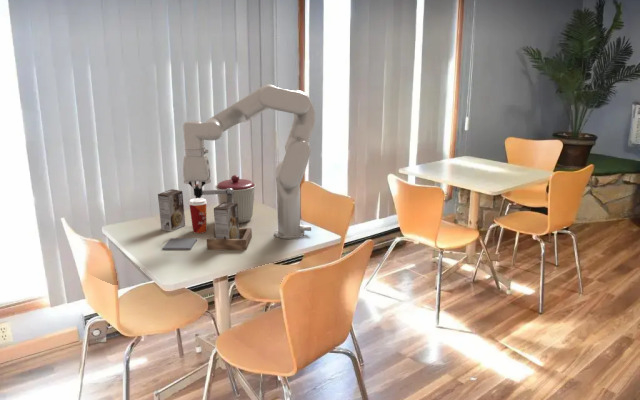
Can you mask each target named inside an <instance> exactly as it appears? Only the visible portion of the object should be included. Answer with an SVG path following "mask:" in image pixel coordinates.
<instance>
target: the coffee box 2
mask: <svg viewBox="0 0 640 400" xmlns="http://www.w3.org/2000/svg"><path fill="white" fill-rule="evenodd" d="M213 217H214V219H213V220H214V228H215V233H216V238H215V239H241V238H240V236H239V228H240V223H239V219H238V203H228V202H223V203H222V204H220V205H219V204H218V205H217V206H215V207H213Z"/></svg>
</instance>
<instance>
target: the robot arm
mask: <svg viewBox="0 0 640 400" xmlns="http://www.w3.org/2000/svg"><path fill="white" fill-rule="evenodd" d="M269 109H271V110H274V111H279V112H283V113H284V112H285V113H288V114H293V121H292V124H291V129H290V131H289V134H288V137H287V139H286V142H285V145H284V149H285V155H284V157H283V160H282V161H280V162H279V163H278V165H277V166H276V167H275V180H276V181H275V182H276V202H277V203H276V204H277V207H276V208H277V209H276V210H277V228H276V229H275V230H274V233H273V234H274V236H275V237H277V238H280V239H285V240H286V239H288V240H291V239H298V238H301V237H303V236H304V235H305V231H306V232H311V231H312V226H309V224H306V225H305V224H302V221H301V189H300V188H301V187H300V184H301V182H302V181H303V179H304V178H303V177H304V175H305V172H306V170H307V167H308V164H309V161H310V157H311V150H312V149H311V146H310V140H311V137H312V135H313V131H314V127H315V122H316V112H315V107H314V104H313V103H312V101H311V98H310V97H309V96H308V94H307V93H305V92H304V91H302V90H301V89H300V90H299V89H295V90H289V89H286V88H285V89H284V88H281V87H276V86H275V85H273V84H268V83H267V84H265V85H263V86H261V87H259V88H258V89H255V91H253V92H251V93H250V94H248V95H246V96H245V97H243V98H242V99H239V100H238V101H236V102H234V103H233V104H232V105H231V106H228V107H227V108H225V109H223V110H221V111H220V112H218V113H217V114H215V115H213V116H212V117H210V118H209V119H207V120H206V122H201V121H199V120H189V121H185V122H184V123H183V125H182V126H183V139H184V140H183V142H184V151H185V155H184V156H183V163H182V165H183V167H182V169H183V170H182V174H183V175H182V177H183V183H184V184H186V185H189V186H190V187H191V188H192V189H193V195H194V198H202V196H203V195H202V190H203V187H204V186H205V185H207V184H210V183H211V182H212V181H211V168H210V161H209V156H208V155H207V154H208V153H209V149H206V148H205V141H211V142H212V141H218V140H219V139H220V138H221V137H222V136H223V133H224V132H226V131H228V130H229V129H231V128H232V127H234V126H237V125H238V124H241V123H246V122H248V121H251V120H252V119H254V118H256V117H257V116H259V115H260V114H262V113H264V112H265V111H267V110H269ZM197 182H198V183H197ZM197 184H199V185H198V187H197Z"/></svg>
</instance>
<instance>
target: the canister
mask: <svg viewBox="0 0 640 400" xmlns="http://www.w3.org/2000/svg"><path fill="white" fill-rule="evenodd" d="M256 186H257V184H256V183H255V182H253V181H251V180H249V179H244V178H240V176H239V175H236V174H234V175H231V179H225V180H222V181H220V182H218V183H217V184H216V185H215V190H223V189H227V188H233V203H238V219H239V224H244V223H247V222H248V221H251V219H252V218H253V215H254V214H253V212H254V203H255V202H254V201H255V188H256ZM217 198H218V205H220V204H222V203H223V202H227V194H217Z"/></svg>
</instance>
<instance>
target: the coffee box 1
mask: <svg viewBox="0 0 640 400" xmlns="http://www.w3.org/2000/svg"><path fill="white" fill-rule="evenodd" d="M157 198H158V199H157V200H158V209H159V220H160V229H161V230H163V231H168V232H173V231H176V230H178V229H181V228H182V227H185V226H186V219H185V218H186V217H185V216H186V215H185V206H184V197H183V190H179V189H168V190H166V191H163V192H161V193H157Z"/></svg>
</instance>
